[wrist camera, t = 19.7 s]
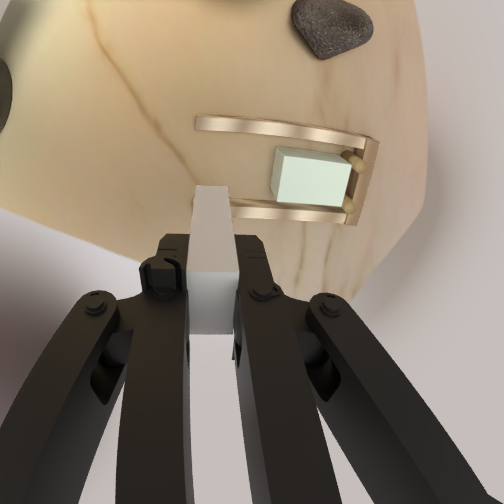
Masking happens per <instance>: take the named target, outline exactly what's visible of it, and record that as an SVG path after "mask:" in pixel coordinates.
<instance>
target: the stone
mask: <svg viewBox="0 0 504 504" xmlns="http://www.w3.org/2000/svg"><path fill="white" fill-rule="evenodd" d="M292 17H293V20H294V23H295V26H296V27H297V28H298V30H299V31H300V32H301V33H302V34H303V35H304V38H305V39H306V40H307V42H308V43H309V45H310V46H311V48H312V49H313V50H314V52H315V53H316V55H318V57H319V58H320V59H322V60H325V59H329V58H331V57H333V56H336V55H338V54H340V53H343V52H345V51H348V50H351V49H353V48H356V47H358V46H360V45H363V44H365V43H366V42H368V41H369V40H370V38H371V37H372V35H373V23H372V20H371V19H370V17H369V15H367V14H366V12H365V11H364V10H362V9H361V8H359V7H357V6H355V5H353V4H350V3H348V2H346V1H344V0H297V1H296V2H295V3H294V4H293V7H292Z"/></svg>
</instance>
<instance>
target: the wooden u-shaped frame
mask: <svg viewBox="0 0 504 504" xmlns="http://www.w3.org/2000/svg"><path fill="white" fill-rule="evenodd" d="M195 130H211V131H230V132H244V133H256V134H266V135H276V136H285V137H293V138H300V139H308V140H314V141H321V142H327V143H333V144H339V145H344V146H350V147H355V149H354V154H353V153H352V152H350V151H348V150H346V151H344V152H343V153H342V154H341V157H342V158H343V159H345V160H346V161H347V162H349V163H350V164H351V165H352V167H351V171H350V175H349V179H348V183H347V187H346V191H345V195H344V199H343V203H342V207H339V206H328V205H316V204H303V203H289V202H277V201H264V200H246V199H229V201H230V208H231V216H232V217H239V218H262V219H283V220H301V221H317V222H332V223H344V224H345V225H353V226H357V223H358V220H359V217H360V214H361V210H362V207H363V203H364V200H365V197H366V193H367V189H368V186H369V182H370V179H371V175H372V171H373V167H374V163H375V159H376V155H377V151H378V147H379V143H380V142H379V141H377V140H375V139H373V138H371V137H368V136H364V135H360V134H355V133H350V132H345V131H340V130H335V129H330V128H324V127H318V126H312V125H306V124H299V123H292V122H285V121H277V120H268V119H259V118H248V117H235V116H220V115H197V116H196V124H195ZM193 205H194V197H193V202H192V213H193Z"/></svg>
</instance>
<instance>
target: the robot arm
mask: <svg viewBox="0 0 504 504" xmlns="http://www.w3.org/2000/svg"><path fill="white" fill-rule="evenodd" d="M11 98H12V82H11V76H10V73H9V70H8V67H7V66H6V64H5V62H4V61H3V60H2V59H1V58H0V132H1V130H2V128H3V127H4V124H5V122H6V120H7V117H8V114H9V110H10V105H11ZM139 272H140V279H141V285H142V292H141V293H140V294H138V295H136V296H134V297H130V298H127V299H121V300H116V298H115V297H114V296H113V294H111V293H109V292H107V291H101V290H97V291H92V292H89V293H87V294H85V295H83V296H82V297H81V298H80V299H79V300H78V301H77V302H76V304H75V305H74V307H73V308H72V309H71V311H70V312H69V314H68V315H67V316H66V318H65V319H64V321H63V322H62V324H61V325H60V327H59V328H58V329H57V331H56V333H55V334H54V335H53V337H52V338H51V340H50V341H49V343H48V344H47V346H46V348H45V349H44V351H43V352H42V354H41V356H40V357H39V359H38V360H37V362H36V363H35V365H34V367H33V368H32V370H31V372H30V373H29V375H28V377H27V379H26V380H25V382H24V384H23V385H22V388H21V389H20V391H19V393H18V394H17V396H16V398H15V400H14V402H13V404H12V406H11V407H10V410H9V411H8V414H7V415H6V417H5V419H4V421H3V424H2V425H1V428H0V504H78V502H79V499H80V496H81V493H82V490H83V487H84V484H85V481H86V479H87V476H88V473H89V470H90V467H91V464H92V462H93V459H94V456H95V453H96V451H97V448H98V446H99V443H100V440H101V438H102V435H103V433H104V430H105V428H106V425H107V422H108V420H109V417H110V415H111V413H112V410H113V408H114V405H115V403H116V401H117V398H118V396H119V394H120V391H121V389H122V387H123V384H124V382H125V386H124V392H123V400H122V409H121V417H120V427H119V437H118V450H117V466H116V496H115V500H116V501H115V504H195V503H194V490H193V476H192V459H191V458H192V457H191V435H190V434H191V433H190V342H189V334H233V328H234V346H233V356H232V360H235V367H236V376H237V386H238V395H239V403H240V412H241V420H242V429H243V437H244V444H245V451H246V460H247V466H248V474H249V482H250V489H251V495H252V502H253V504H342V501H341V497H340V493H339V489H338V485H337V482H336V477H335V474H334V470H333V466H332V462H331V459H330V455H329V451H328V447H327V443H326V440H325V436H324V433H323V429H322V425H321V421H320V418H319V414H318V410H317V408H318V409H319V411H320V413H321V414H322V416H323V418H324V420H325V421H326V423H327V425H328V427H329V428H330V430H331V432H332V434H333V435H334V437H335V439H336V440H337V442H338V443H339V445H340V447H341V449H342V451H343V452H344V454H345V456H346V457H347V459H348V461H349V462H350V464H351V466H352V467H353V469H354V471H355V472H356V474H357V476H358V477H359V479H360V481H361V482H362V484H363V486H364V487H365V489H366V491H367V492H368V494H369V495H370V497H371V499H372V501H373V502H374V504H503V503H501V502H499V501H498V500H496V499H495V498H493V497H491V496H490V495H488V494H487V492H486V490H485V489H484V487H483V486H482V484H481V483H480V481H479V480H478V478H477V476H476V475H475V473H474V472H473V470H472V469H471V467H470V466H469V464H468V463H467V461H466V460H465V458H464V457H463V455H462V454H461V452H460V451H459V449H458V448H457V446H456V445H455V444H454V442H453V441H452V439H451V438H450V436H449V435H448V433H447V432H446V431H445V429H444V428H443V426H442V425H441V424H440V422H439V421H438V419H437V418H436V417H435V415H434V414H433V412H432V411H431V410H430V408H429V407H428V406H427V404H426V403H425V402H424V400H423V399H422V397H421V396H420V395H419V393H418V392H417V391H416V389H415V388H414V387H413V386H412V384H411V383H410V381H409V380H408V379H407V377H406V376H405V375H404V373H403V372H402V371H401V370H400V368H399V367H398V366H397V364H396V363H395V362H394V360H393V359H392V358H391V356H390V355H389V354H388V353H387V351H386V350H385V349H384V347H383V346H382V345H381V344H380V342H379V341H378V340H377V339H376V337H375V336H374V335H373V334H372V333H371V331H370V330H369V329H368V327H367V326H366V325H365V324H364V322H363V321H362V320H361V319H360V317H359V316H358V315H357V314H356V312H355V311H354V310H353V309H352V308H351V306H350V305H349V304H348V303H347V302H346V301H345V300H344V299H343V298H341V297H339V296H337V295H335V294H331V293H319V294H317V295H314V296H313V297H312V298H311V300H310V302H306V301H301V300H297V299H293V298H290V297H288V296H286V295H284V293H283V291H282V289H281V287H280V286H278V285H277V284H276V283H274V281H273V277H272V273H271V270H270V266H269V263H268V259H267V256H266V252H265V249H264V245H263V242H262V241H261V240H260V239H259V238H258V237H257V236H256V235H235V234H234V230H233V223H232V216H231V208H230V201H229V194H228V186H207V185H196V190H195V197H194V205H193V213H192V221H191V230H190V234H166V235H165V236H164V237H163V238H162V239H161V240H160V242H159V246H158V250H157V253H156V256H154V257H151V258H148V259H147V260H145V261H144V262H142V264H141V265H140V267H139ZM316 406H317V407H316Z"/></svg>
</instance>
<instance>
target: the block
mask: <svg viewBox="0 0 504 504" xmlns="http://www.w3.org/2000/svg"><path fill="white" fill-rule="evenodd" d="M351 167H352V165H351V164H350V163H349V162H347V161H346V160H345V159H343V158H342V157H341V156H339V155H338V154H332V153H325V152H318V151H311V150H303V149H295V148H287V147H277V146H276V150H275V157H274V164H273V171H272V178H271V184H270V188H271V190H272V193H273V195H274V197H275V199H276V201H277V202H289V203H303V204H316V205H328V206H339V207H342V203H343V199H344V195H345V191H346V187H347V183H348V179H349V175H350V171H351Z"/></svg>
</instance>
